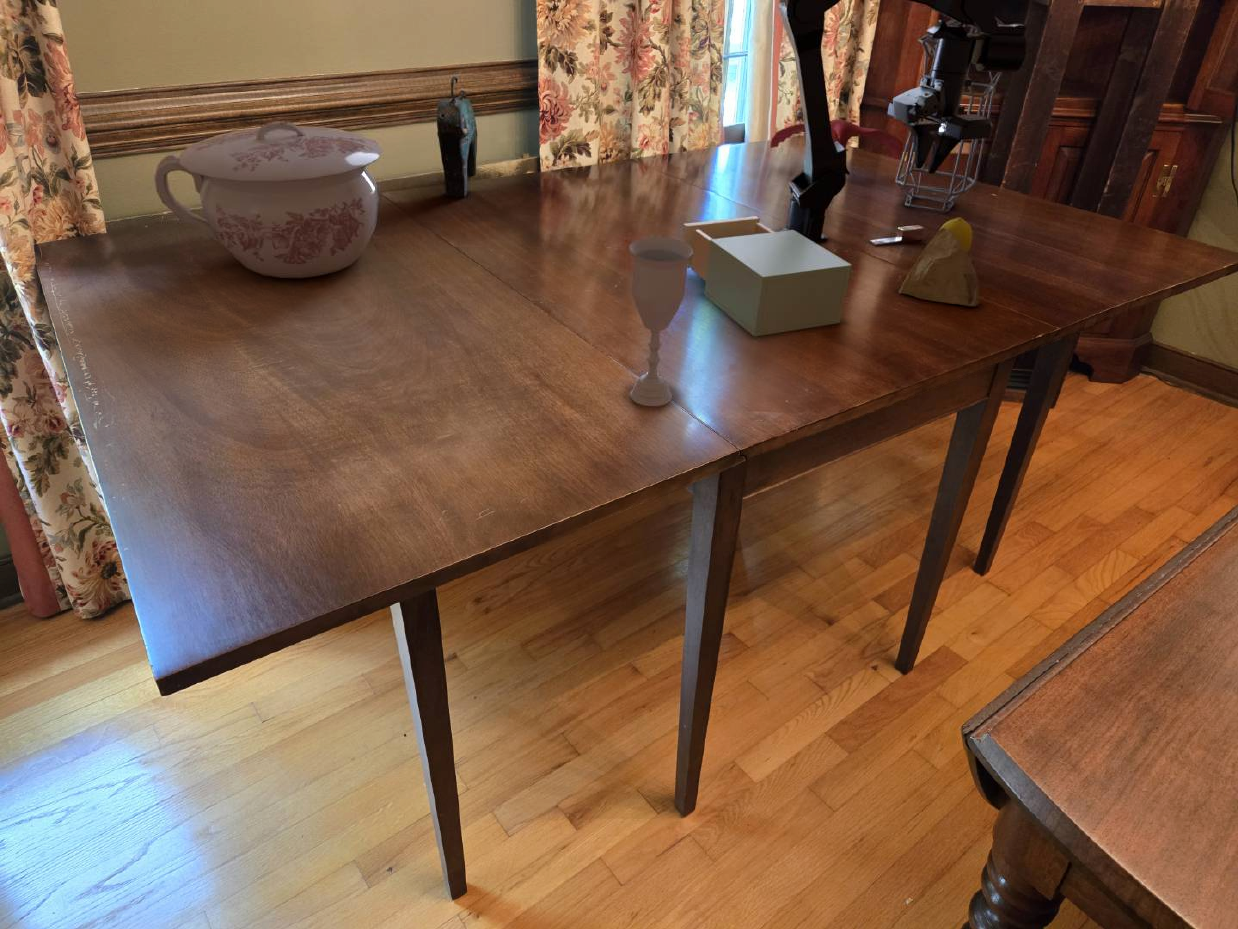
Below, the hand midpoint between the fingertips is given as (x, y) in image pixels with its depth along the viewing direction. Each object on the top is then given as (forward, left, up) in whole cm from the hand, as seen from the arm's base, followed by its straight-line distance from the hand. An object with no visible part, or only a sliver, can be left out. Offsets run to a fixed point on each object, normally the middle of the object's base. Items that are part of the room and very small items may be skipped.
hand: (924, 170), depth 140 cm
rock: (+23, -13, -12) cm, 29 cm away
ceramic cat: (-53, -68, -12) cm, 87 cm away
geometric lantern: (-15, +17, -12) cm, 26 cm away
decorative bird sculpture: (-44, +14, -12) cm, 48 cm away
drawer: (+5, -40, -11) cm, 42 cm away
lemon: (+12, -2, -12) cm, 17 cm away
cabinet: (+18, -40, -12) cm, 45 cm away
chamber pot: (-20, -101, -12) cm, 103 cm away
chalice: (+35, -67, -12) cm, 76 cm away
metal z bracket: (0, -3, -12) cm, 12 cm away
